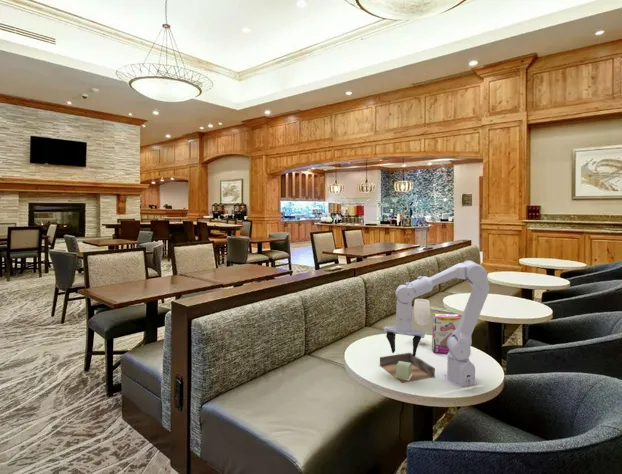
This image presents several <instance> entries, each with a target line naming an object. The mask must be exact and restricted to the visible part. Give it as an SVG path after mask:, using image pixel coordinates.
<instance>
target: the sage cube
mask: <svg viewBox="0 0 622 474" xmlns="http://www.w3.org/2000/svg"><path fill="white" fill-rule="evenodd" d="M410 375H411V363H408V362H403V361H399V362H398V363H397V365H396V377H398V378H403V379H409V377H410Z"/></svg>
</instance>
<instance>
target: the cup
mask: <svg viewBox="0 0 622 474" xmlns="http://www.w3.org/2000/svg"><path fill="white" fill-rule="evenodd" d="M430 316H431V306H430V300H429V299H425V298H416V299H414V304H413V317H414V321H415V323H416V324H418V325H419V326H421V327H422V326H423V327H424V326H425V325H426V324H428V322H429V320H430Z"/></svg>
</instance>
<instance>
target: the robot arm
mask: <svg viewBox="0 0 622 474" xmlns="http://www.w3.org/2000/svg"><path fill="white" fill-rule="evenodd" d="M452 279H459V280H460V279H461V280H467V281H468V283H469V285H470V286H471V288H472V289H471V292H470V295H469V297H468V300H467V302H466V304H465V308H464V310H463V313H462V314H461V316H460V317H461V320H460V322H459V325H458V327H457V329H455V330H454V331H453V334H452V335H451V336H450V337H449V338H448V339H447V346H448V348H449V349H450V350H449V352H448V353H447V368H446V369H447V370H446V371H447V373H446V374H445V375H441V376H442V378H444V379H446V380H447V381H448V382H449V383H452V384H453V385H454V386H456V387H458V388H463V387H467V386H472V385H473V386H474V385H477V382H476V367H475V365H474V364H473V363H472V362H471V360H470V359H469V358H470V356H471V353H472V351H471V346H472V343H473V342H472V341H473V339H472V335H473V332H474V329H475V327H476V325H477V323H478V319H479V317H480V315H481V312H482V310H483V308H484V305H485V302H486V301H487V297H488V295H489V293H490V284H489V279H488V272H487V270H486V269H485V268H484V266H482V265H481V264H479V263H476V262H474V261H473V260H465V261H463V262H458V263H456V264H455V265H451V266H450V267H448V268H447V269H444V270H442V271H440V272H438V273H436V274H435V275H432V276H430V277H428V276H426V275H425V276H422V275H420V276H418V277H417V279H415V280H413V281H411V282H409V281H408V282H405V284H400V285H398V286H397V288H396V290H395V291H394V293H395V294H394V295H395V296H396V305H395V306H396V307H395V308H396V310H395V315H396V316H395V319H396V320H395V321H396V322H395V326H388V325H387V326H385V327H384V328H383V333H384V334H385V337H386V339H387V341H388V343H389V345H390V349H391V353H392V354H394V353H395V352H396V335H403V336H409V337H410V336H411V337H413V338H412V354H413V356H417V350H418V346H419V344H420V342H421V339H424V338H425V333H426V331H424V330H418V329H416V328H413V306H412V305H413V303H412V302H413V300H414V298H417V297H419V296H422V295H425V294H428V293H429V292H432V291H433V288H434V287H435V286H438V285H440V284H442V283H445V282H447V281H450V280H452Z"/></svg>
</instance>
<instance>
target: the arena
mask: <svg viewBox="0 0 622 474" xmlns="http://www.w3.org/2000/svg"><path fill="white" fill-rule="evenodd" d="M399 361H403V362H408V363H411V375H410V377H409V379H403V378H398V377H396V365H397V363H398V362H399ZM379 366H380V367H381V368H382V369H384V371H386V372H387V373H388V374H390V376H392V377H393V378H394V379H396V380H398V381H399V382H400V383H401V384H405V383H410V382H417V381H422V380H427V379H432V378H435V376H436V372H435V371H436V368H435V367H434V366H432V365H430V364H429V363H427V362H426V361H424V360H422V359H421V358H419V356H417V355H415V356H413V352H405V353H397V354H391V355H386V356H380V357H379Z"/></svg>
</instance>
